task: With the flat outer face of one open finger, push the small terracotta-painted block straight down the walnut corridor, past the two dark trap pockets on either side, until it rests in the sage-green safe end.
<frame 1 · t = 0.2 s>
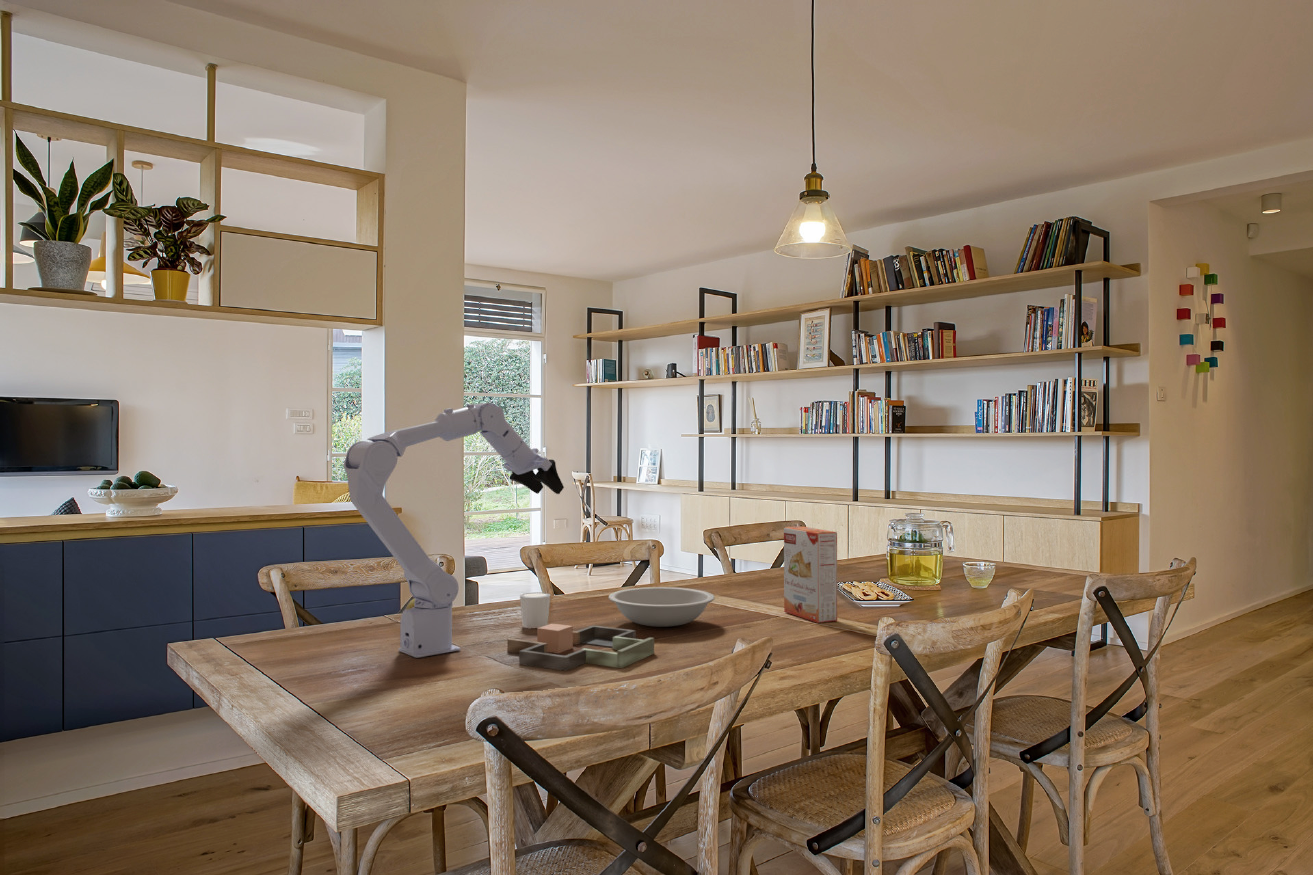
hand: (550, 490, 185), 31 cm above the table, tool tilted 45°, fingers open, 7 cm apart
white cup: (535, 626, 189), on the table
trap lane: (580, 652, 165), on the table
block: (555, 649, 168), on the table
cracker box: (809, 617, 200), on the table
fruit: (423, 633, 182), on the table
soup bowl: (661, 625, 191), on the table
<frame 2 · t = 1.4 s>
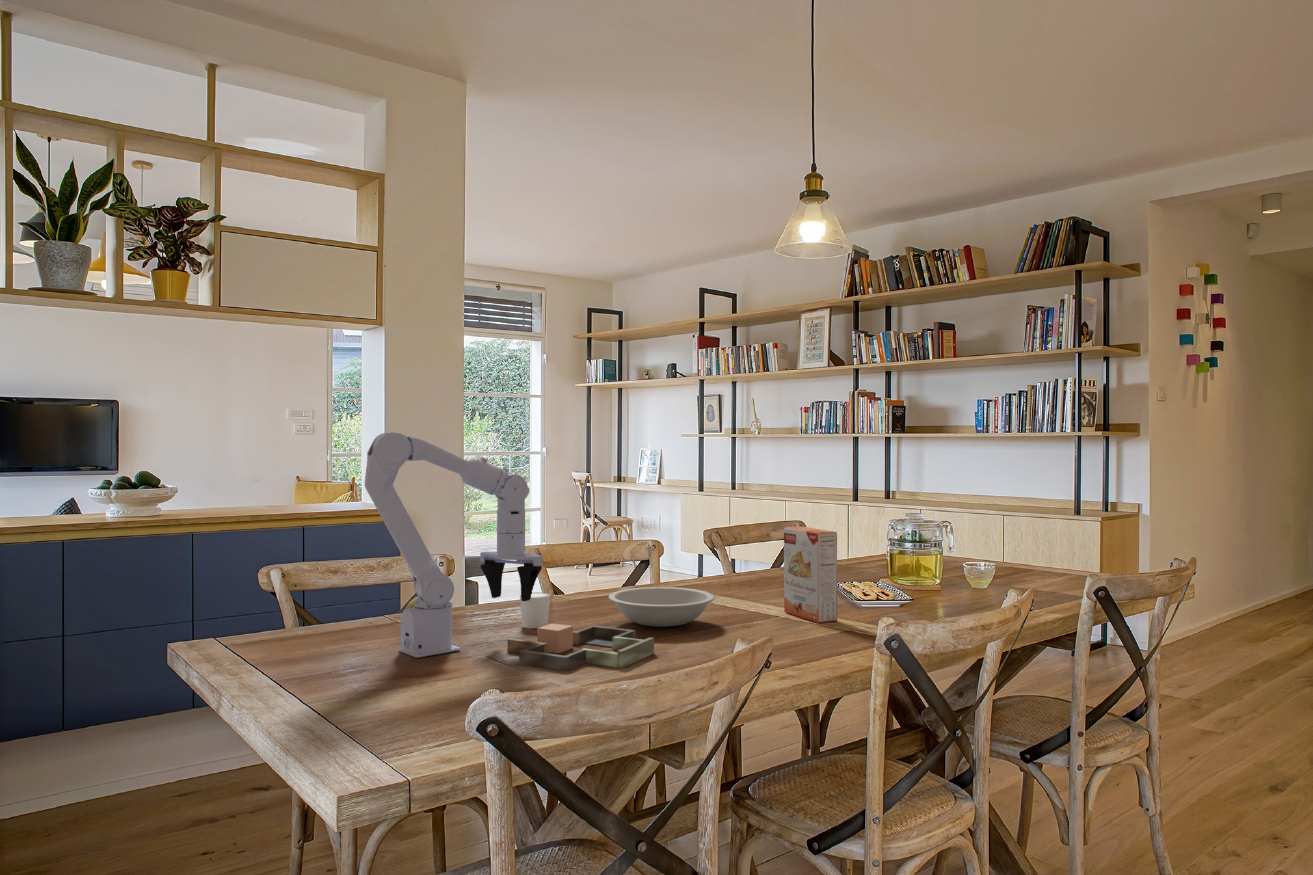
hand: (510, 598, 173), 9 cm above the table, tool pointing down, fingers open, 7 cm apart
nothing on the table moved.
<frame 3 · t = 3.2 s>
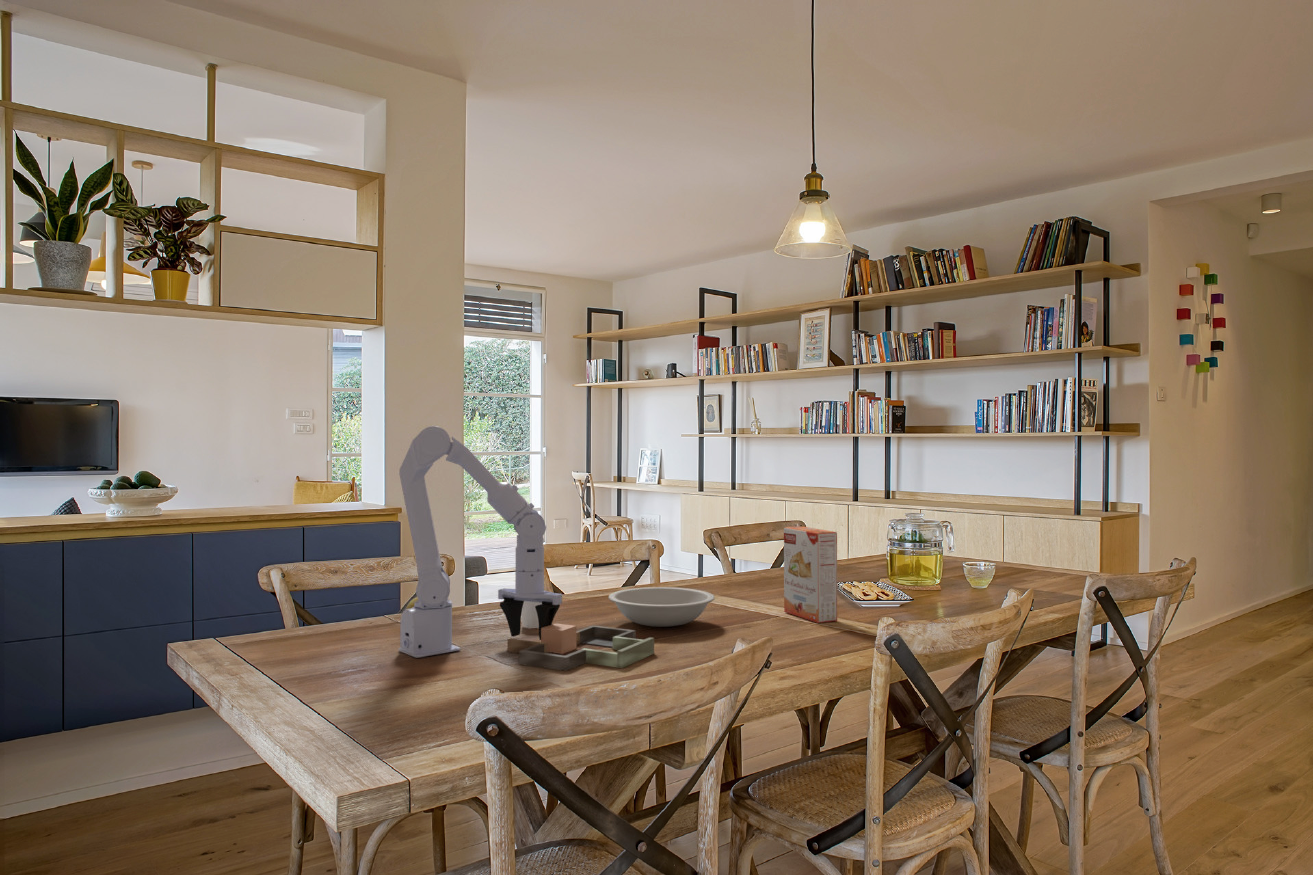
hand: (529, 637, 171), 2 cm above the table, tool pointing down, fingers open, 6 cm apart
block: (558, 649, 167), on the table, touching gripper
everything else where it was.
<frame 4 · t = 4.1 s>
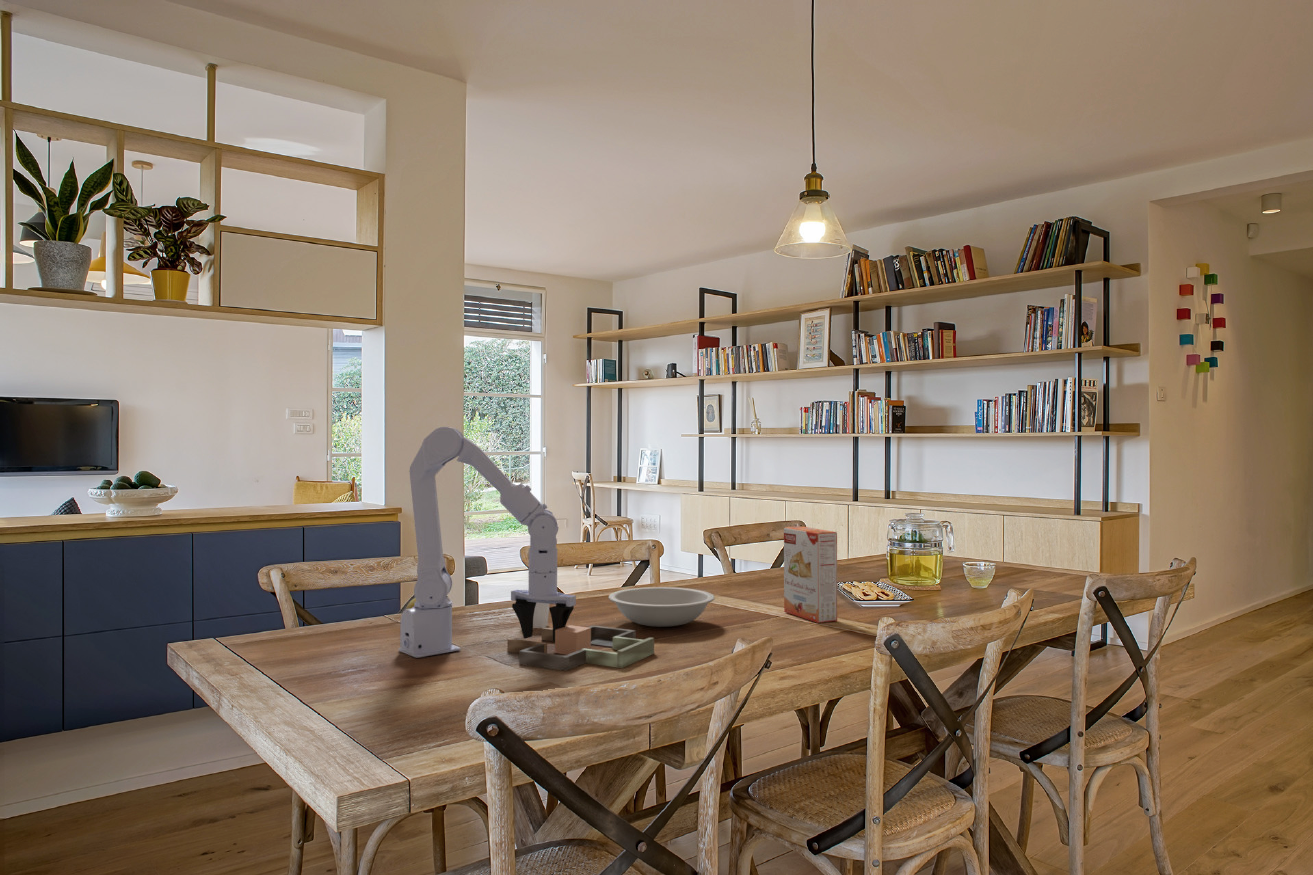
hand: (542, 639, 169), 2 cm above the table, tool pointing down, fingers open, 7 cm apart
block: (573, 651, 165), on the table, touching gripper
everything else where it was.
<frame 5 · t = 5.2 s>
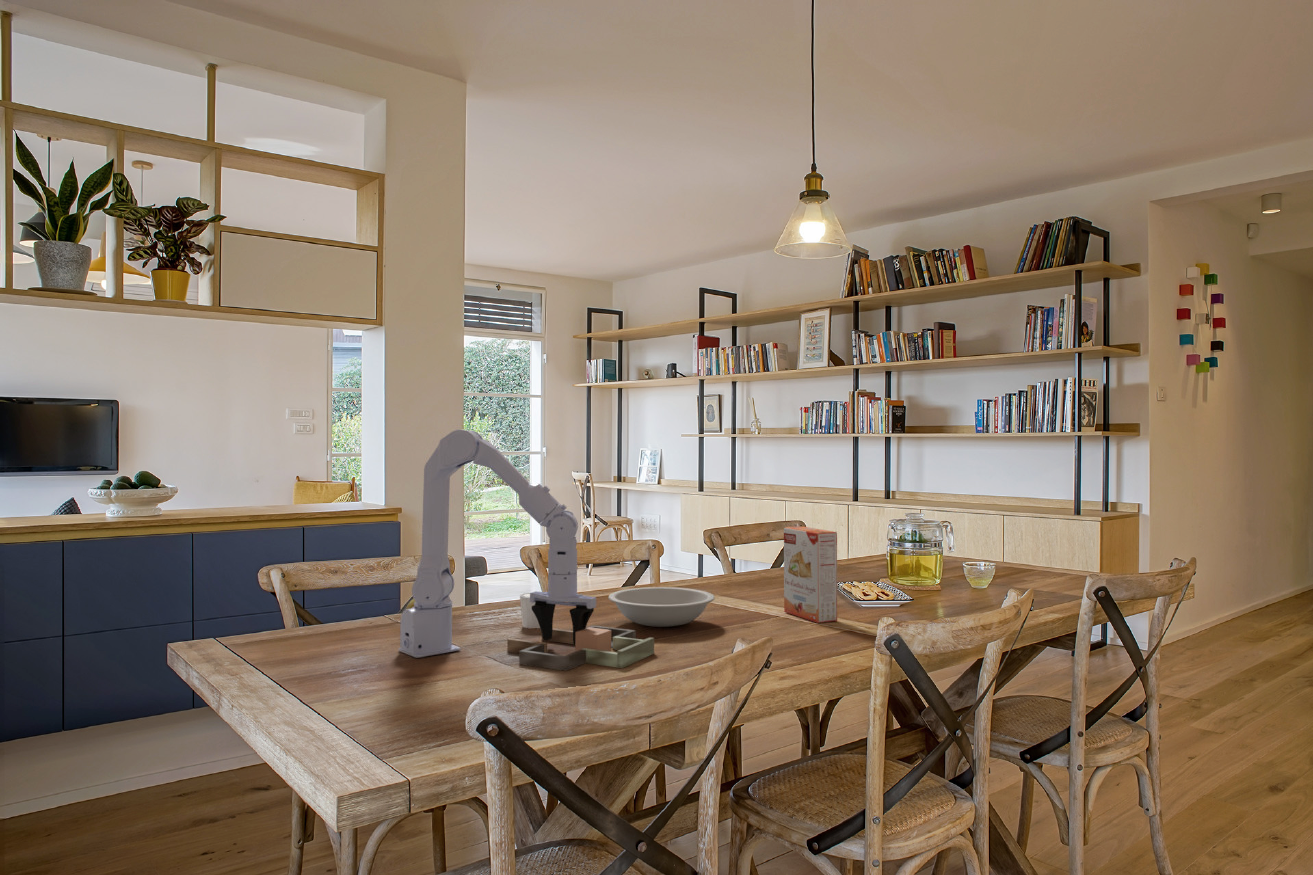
hand: (562, 641, 167), 2 cm above the table, tool pointing down, fingers open, 7 cm apart
block: (593, 654, 163), on the table, touching gripper
everything else where it was.
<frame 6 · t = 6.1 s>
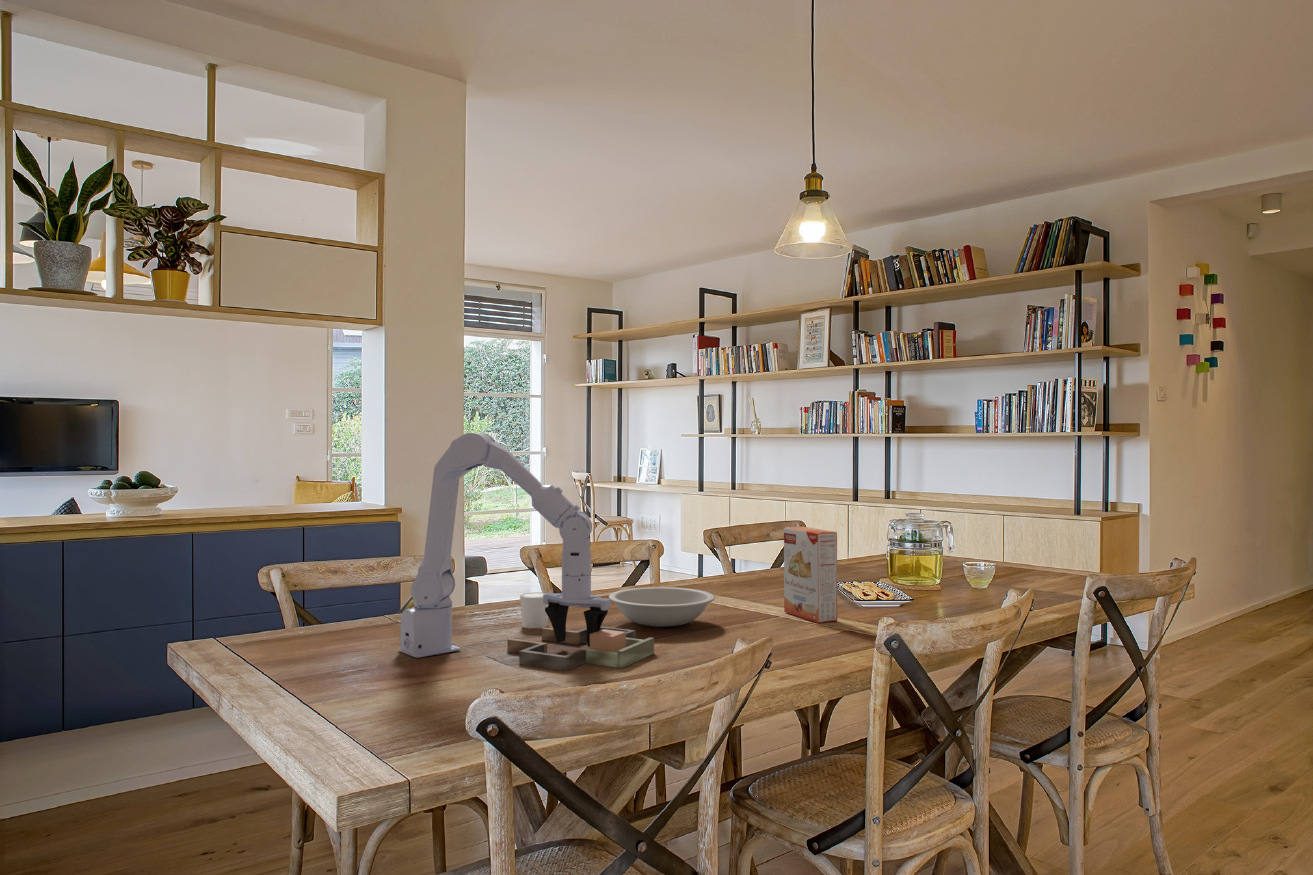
hand: (576, 643, 165), 2 cm above the table, tool pointing down, fingers open, 7 cm apart
block: (607, 656, 162), on the table, touching gripper
everything else where it was.
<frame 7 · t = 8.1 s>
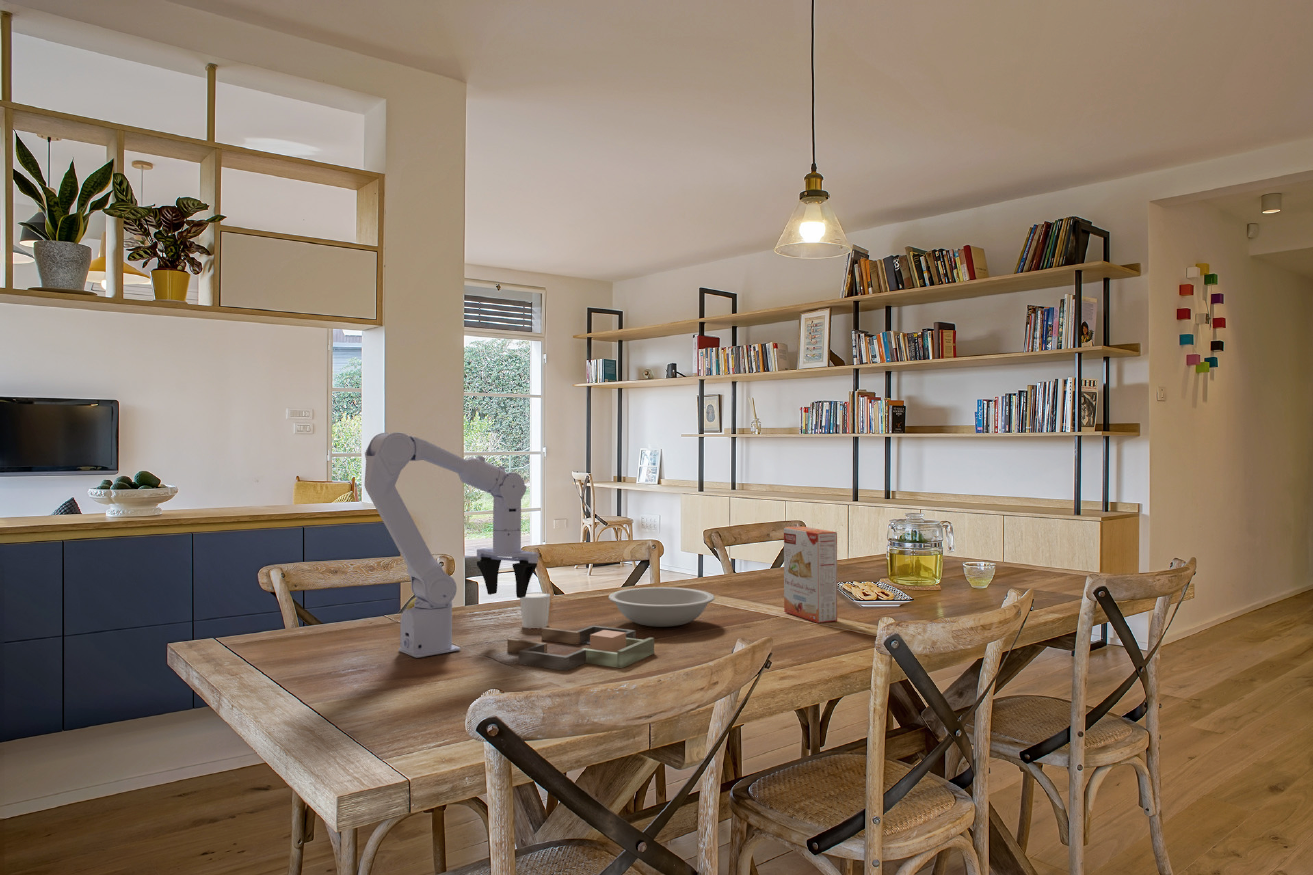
hand: (506, 595, 175), 9 cm above the table, tool pointing down, fingers open, 7 cm apart
block: (608, 657, 162), on the table
everything else where it was.
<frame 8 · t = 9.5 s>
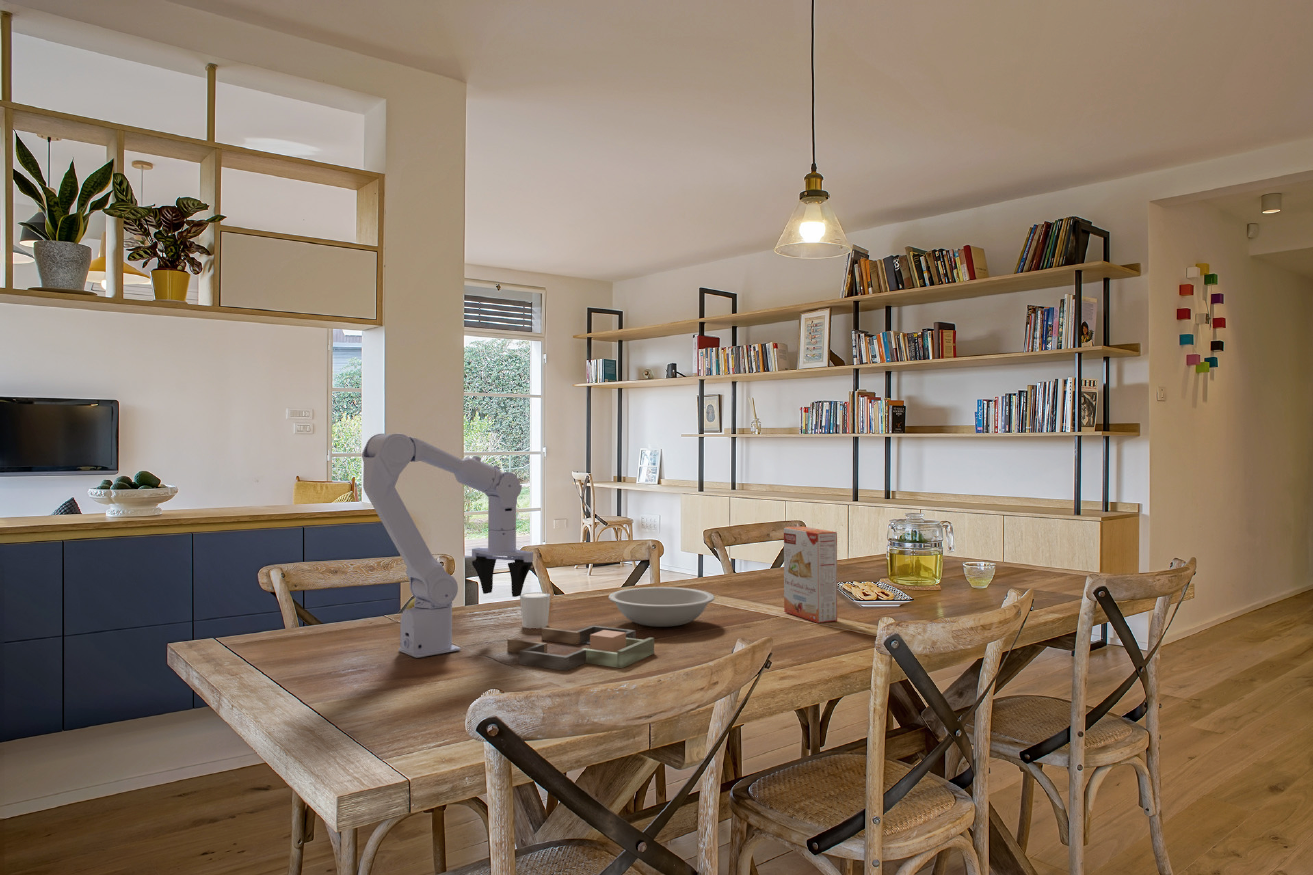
hand: (501, 594, 176), 9 cm above the table, tool pointing down, fingers open, 7 cm apart
nothing on the table moved.
at the end: block inside the target area (0.7 cm from its centre), on the table; block tilted 0°; block moved 12.3 cm from its start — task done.
